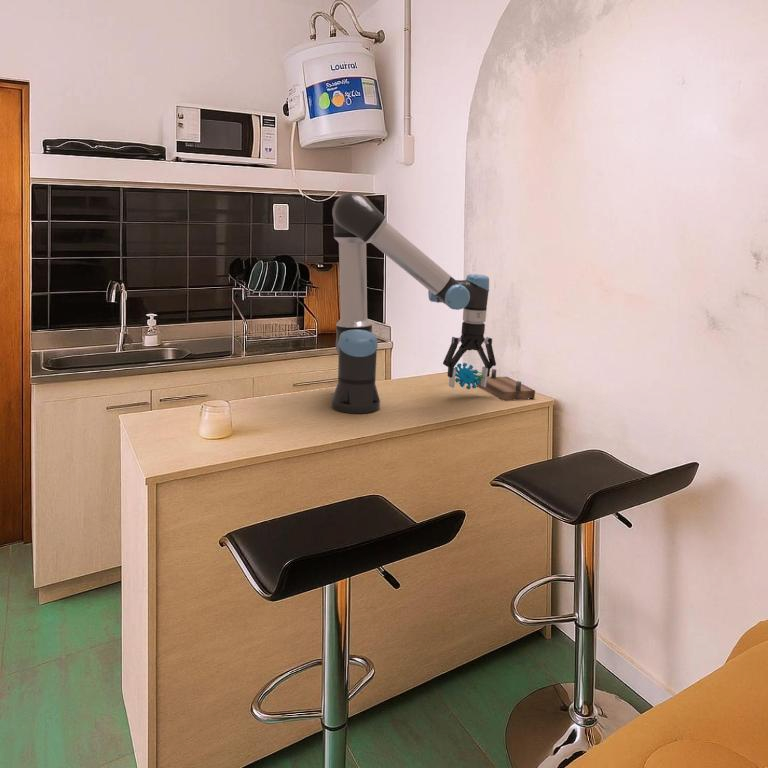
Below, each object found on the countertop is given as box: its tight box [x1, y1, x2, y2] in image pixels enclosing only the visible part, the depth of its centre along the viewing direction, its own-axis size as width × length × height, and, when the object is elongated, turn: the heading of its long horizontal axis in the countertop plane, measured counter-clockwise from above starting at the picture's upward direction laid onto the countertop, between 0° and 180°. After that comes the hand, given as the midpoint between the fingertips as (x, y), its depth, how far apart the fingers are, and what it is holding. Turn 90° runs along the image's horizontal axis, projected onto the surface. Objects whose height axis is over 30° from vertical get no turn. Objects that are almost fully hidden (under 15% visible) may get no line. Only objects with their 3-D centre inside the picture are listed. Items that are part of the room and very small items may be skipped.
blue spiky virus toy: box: [454, 362, 483, 390], centre depth 228 cm, size 11×6×10 cm
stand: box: [476, 368, 536, 401], centre depth 236 cm, size 12×20×6 cm, turn 18°
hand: (467, 386), depth 227 cm, fingers closed on blue spiky virus toy, 11 cm apart
